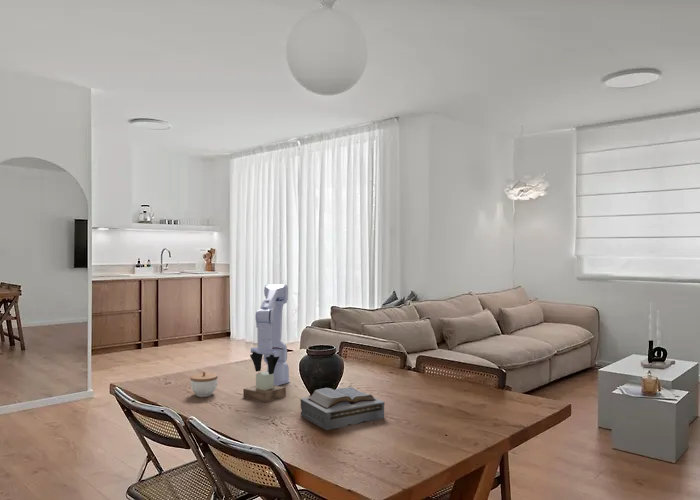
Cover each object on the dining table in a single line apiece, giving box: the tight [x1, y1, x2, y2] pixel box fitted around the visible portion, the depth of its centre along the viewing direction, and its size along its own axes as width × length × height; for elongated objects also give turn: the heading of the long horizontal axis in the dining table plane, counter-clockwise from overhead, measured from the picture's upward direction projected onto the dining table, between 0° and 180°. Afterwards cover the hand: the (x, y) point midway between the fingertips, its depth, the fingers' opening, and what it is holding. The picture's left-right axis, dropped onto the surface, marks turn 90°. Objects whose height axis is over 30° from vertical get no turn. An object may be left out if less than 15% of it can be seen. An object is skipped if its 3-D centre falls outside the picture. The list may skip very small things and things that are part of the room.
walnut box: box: [242, 385, 287, 403], centre depth 225 cm, size 12×12×4 cm
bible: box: [300, 386, 385, 431], centre depth 198 cm, size 23×27×10 cm
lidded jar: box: [190, 371, 218, 398], centre depth 228 cm, size 11×11×9 cm
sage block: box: [255, 371, 274, 390], centre depth 224 cm, size 5×5×6 cm
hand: (264, 372), depth 225 cm, fingers open, 7 cm apart
